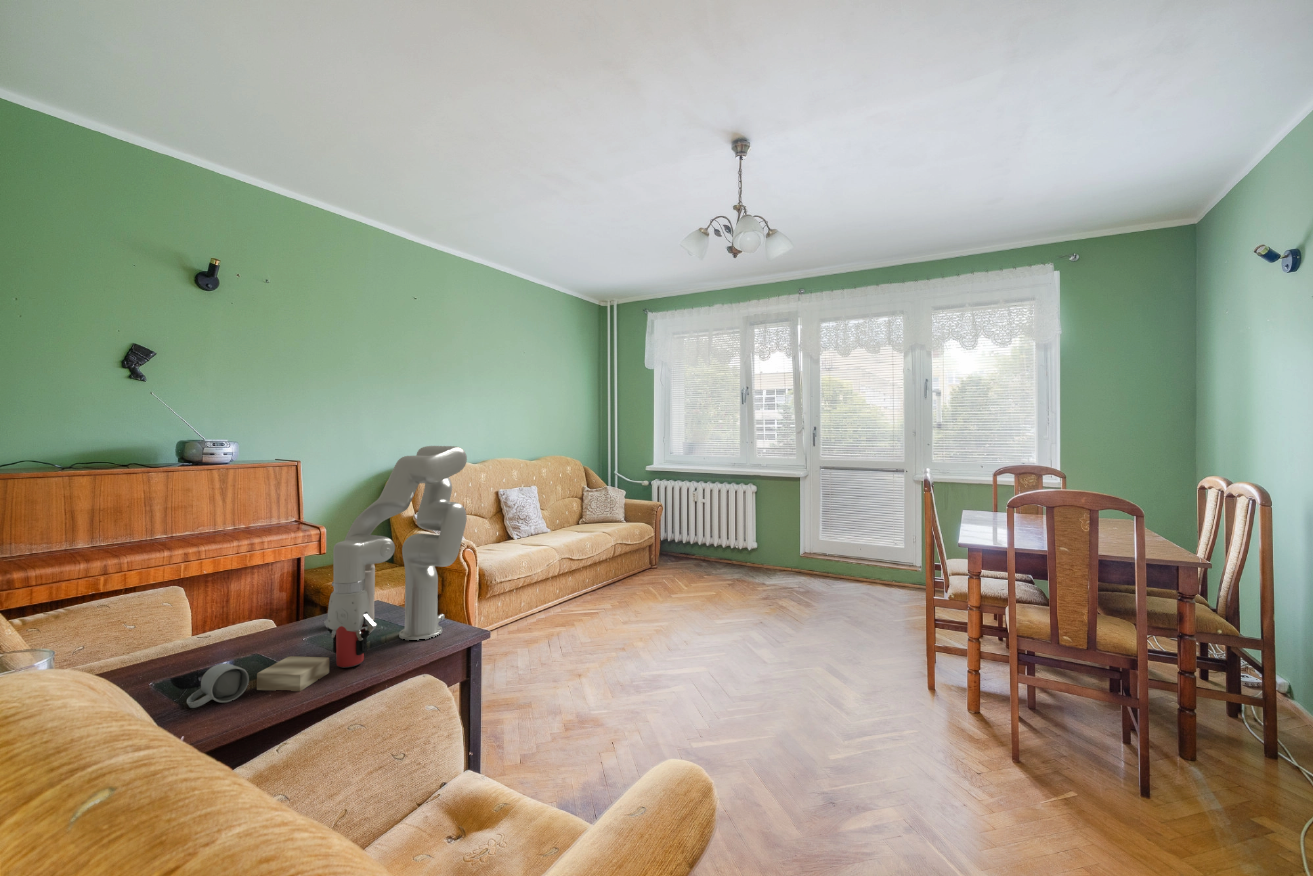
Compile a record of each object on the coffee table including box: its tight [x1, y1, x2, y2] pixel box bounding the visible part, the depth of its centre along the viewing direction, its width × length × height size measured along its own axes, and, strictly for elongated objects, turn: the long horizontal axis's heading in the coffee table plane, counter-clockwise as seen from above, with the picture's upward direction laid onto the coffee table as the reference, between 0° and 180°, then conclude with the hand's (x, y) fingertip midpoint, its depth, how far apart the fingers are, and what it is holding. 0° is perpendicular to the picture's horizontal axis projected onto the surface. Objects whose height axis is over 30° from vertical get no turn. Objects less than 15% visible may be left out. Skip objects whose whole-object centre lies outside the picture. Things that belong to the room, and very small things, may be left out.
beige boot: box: [365, 563, 376, 622], centre depth 185 cm, size 7×14×20 cm, turn 170°
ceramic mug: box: [186, 663, 250, 709], centre depth 131 cm, size 11×8×8 cm
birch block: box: [256, 655, 330, 692], centre depth 141 cm, size 11×11×4 cm
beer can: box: [335, 623, 365, 669], centre depth 151 cm, size 7×7×12 cm
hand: (350, 651), depth 151 cm, fingers closed on beer can, 6 cm apart
